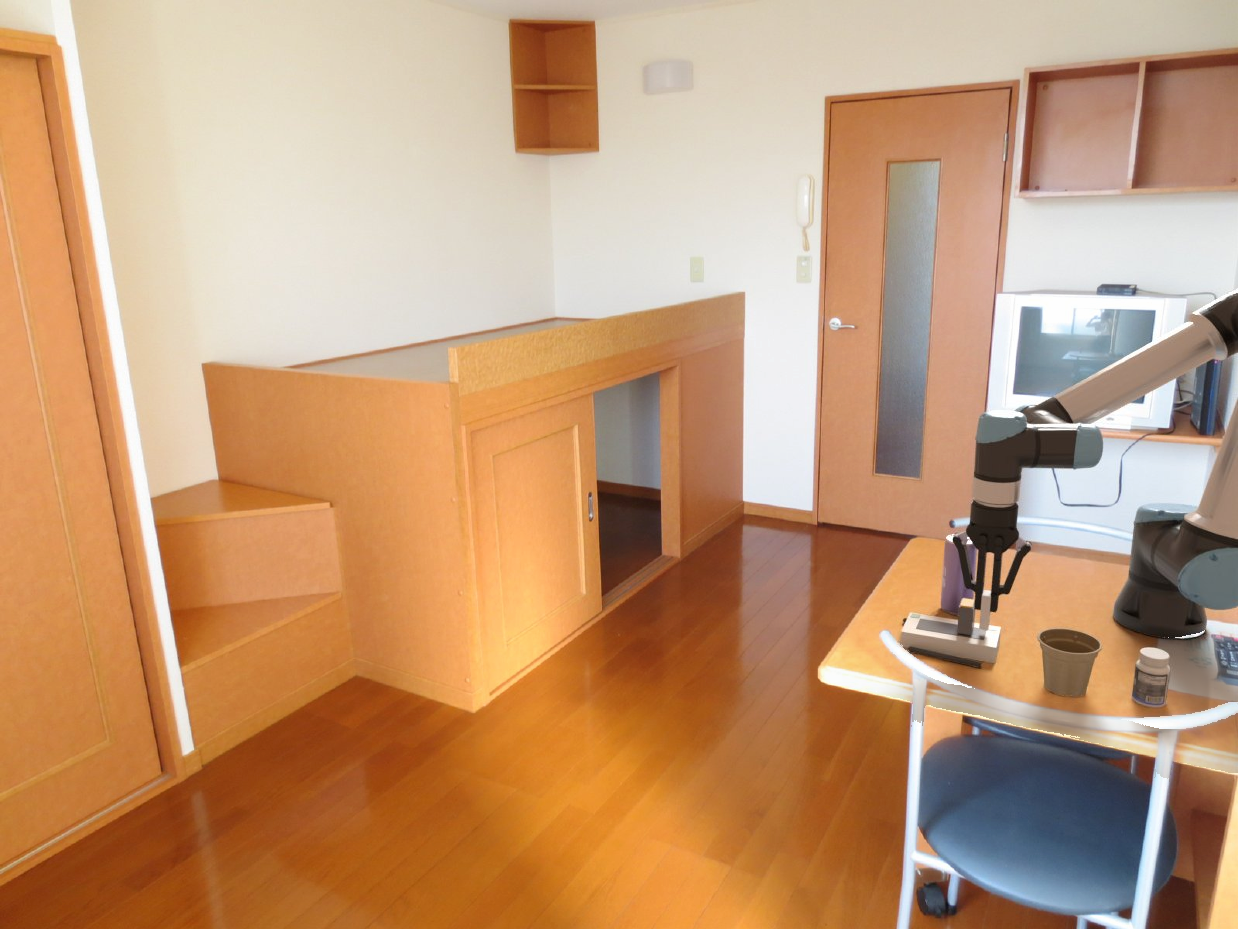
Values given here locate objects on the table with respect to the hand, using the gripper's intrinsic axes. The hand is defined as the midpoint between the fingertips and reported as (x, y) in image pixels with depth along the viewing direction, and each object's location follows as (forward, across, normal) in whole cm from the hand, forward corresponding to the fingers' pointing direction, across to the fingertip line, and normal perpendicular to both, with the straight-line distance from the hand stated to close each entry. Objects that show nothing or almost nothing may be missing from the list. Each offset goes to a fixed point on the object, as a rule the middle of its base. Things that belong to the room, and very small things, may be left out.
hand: (984, 626), depth 158 cm
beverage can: (+5, +6, -16) cm, 18 cm away
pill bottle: (+5, -26, +8) cm, 27 cm away
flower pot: (+5, -14, +9) cm, 17 cm away
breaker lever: (+1, +3, 0) cm, 3 cm away
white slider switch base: (+5, +6, 0) cm, 7 cm away
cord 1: (+5, +6, +6) cm, 10 cm away
